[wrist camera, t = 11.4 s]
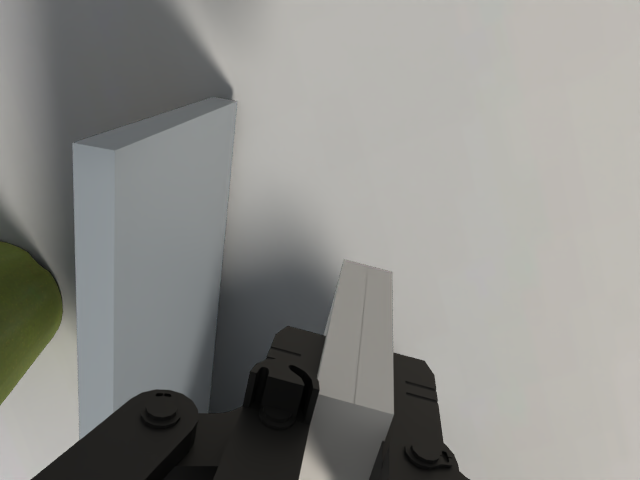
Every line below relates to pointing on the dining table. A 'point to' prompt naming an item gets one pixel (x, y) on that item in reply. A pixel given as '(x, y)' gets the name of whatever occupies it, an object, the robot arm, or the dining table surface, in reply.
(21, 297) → the plant pot
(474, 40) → the dining table surface
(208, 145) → the side door
